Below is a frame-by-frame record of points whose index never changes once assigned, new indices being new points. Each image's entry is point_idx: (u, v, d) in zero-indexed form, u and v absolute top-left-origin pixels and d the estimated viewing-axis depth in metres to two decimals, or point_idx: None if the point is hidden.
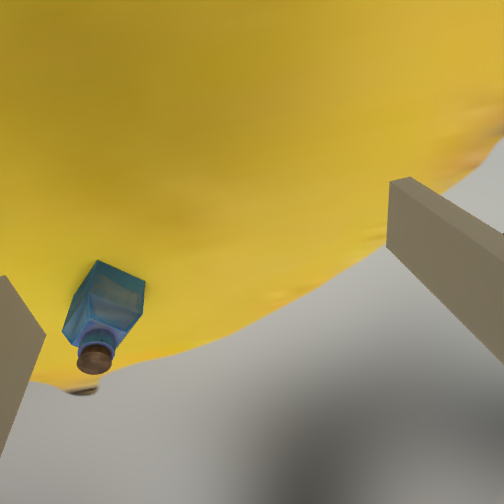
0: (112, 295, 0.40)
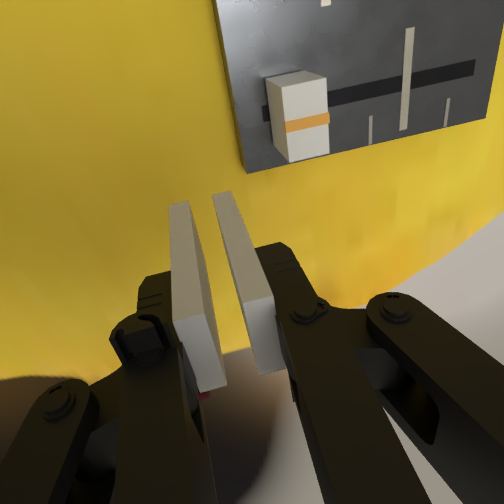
0: None
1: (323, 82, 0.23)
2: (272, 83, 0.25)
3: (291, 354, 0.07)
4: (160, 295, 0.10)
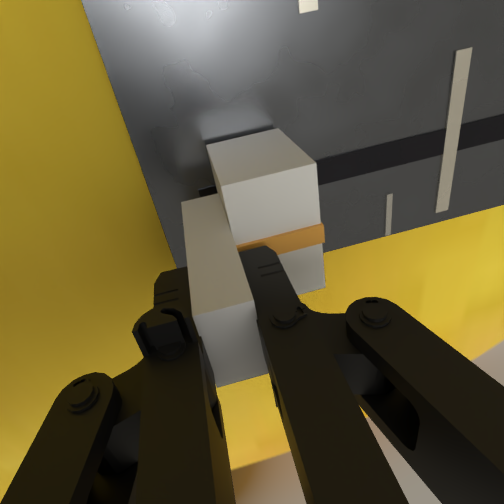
0: None
1: (310, 172, 0.11)
2: (212, 163, 0.13)
3: (271, 360, 0.07)
4: (176, 290, 0.10)
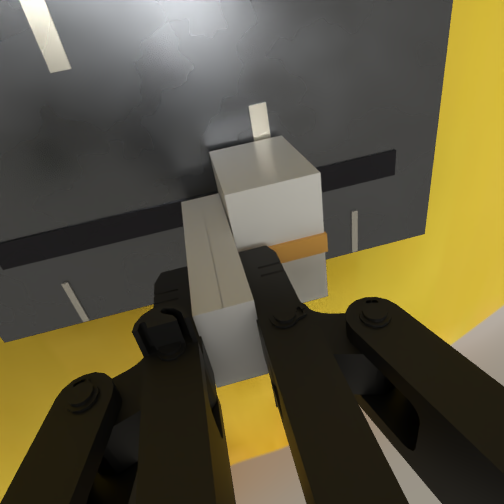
0: None
1: (314, 181, 0.11)
2: (215, 171, 0.13)
3: (271, 360, 0.07)
4: (176, 290, 0.10)
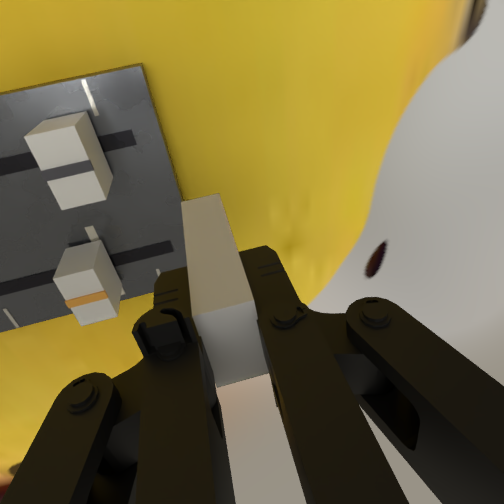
0: None
1: (91, 272, 0.27)
2: (60, 262, 0.29)
3: (271, 360, 0.07)
4: (176, 291, 0.10)
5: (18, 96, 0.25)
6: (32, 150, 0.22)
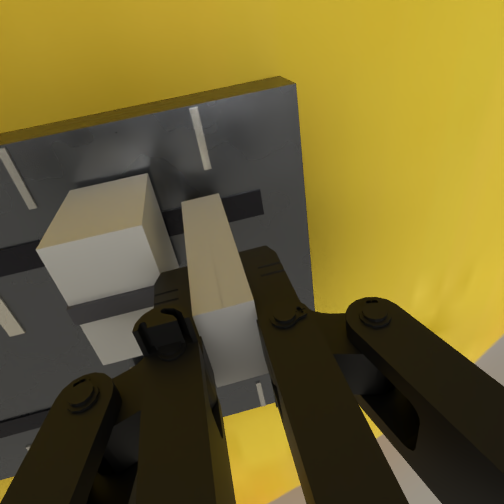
0: None
1: None
2: None
3: (271, 360, 0.07)
4: (176, 291, 0.10)
5: (74, 138, 0.13)
6: (52, 273, 0.11)
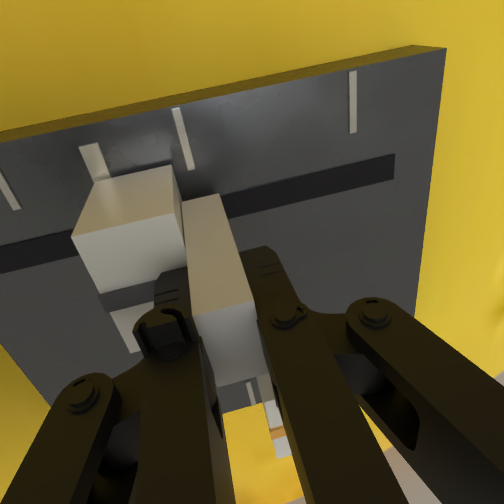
0: None
1: None
2: None
3: (271, 360, 0.07)
4: (176, 291, 0.10)
5: (241, 99, 0.14)
6: (86, 260, 0.11)
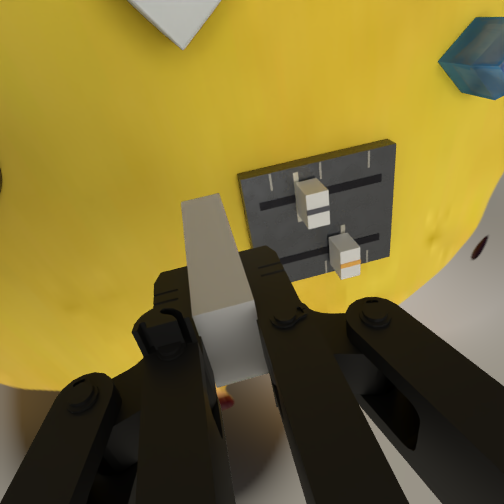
0: (482, 46, 0.42)
1: (358, 248, 0.52)
2: (334, 244, 0.53)
3: (271, 360, 0.07)
4: (176, 290, 0.10)
5: (337, 159, 0.49)
6: (307, 201, 0.46)
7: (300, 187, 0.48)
